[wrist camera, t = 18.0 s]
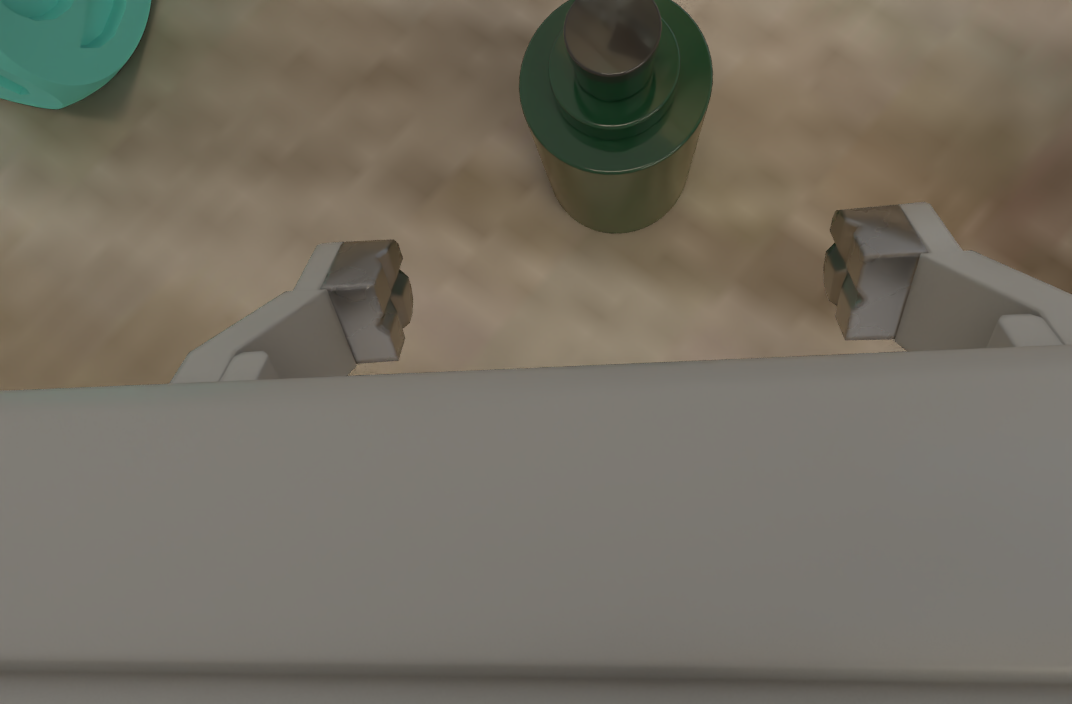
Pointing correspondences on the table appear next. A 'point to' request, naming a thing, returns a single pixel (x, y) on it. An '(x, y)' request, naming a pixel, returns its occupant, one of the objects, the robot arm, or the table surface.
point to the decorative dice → (65, 47)
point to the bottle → (616, 107)
